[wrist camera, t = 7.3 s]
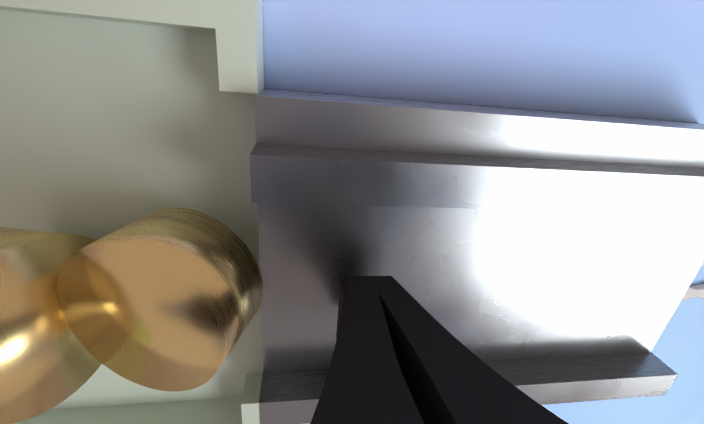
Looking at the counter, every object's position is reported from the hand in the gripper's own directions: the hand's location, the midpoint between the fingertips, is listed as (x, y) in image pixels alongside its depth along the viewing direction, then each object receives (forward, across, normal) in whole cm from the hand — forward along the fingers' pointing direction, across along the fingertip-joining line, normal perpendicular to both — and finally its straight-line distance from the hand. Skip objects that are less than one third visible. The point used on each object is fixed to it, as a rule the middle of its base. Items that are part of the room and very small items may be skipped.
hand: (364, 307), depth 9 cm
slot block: (+3, -4, 0) cm, 5 cm away
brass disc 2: (+1, +5, 0) cm, 5 cm away
